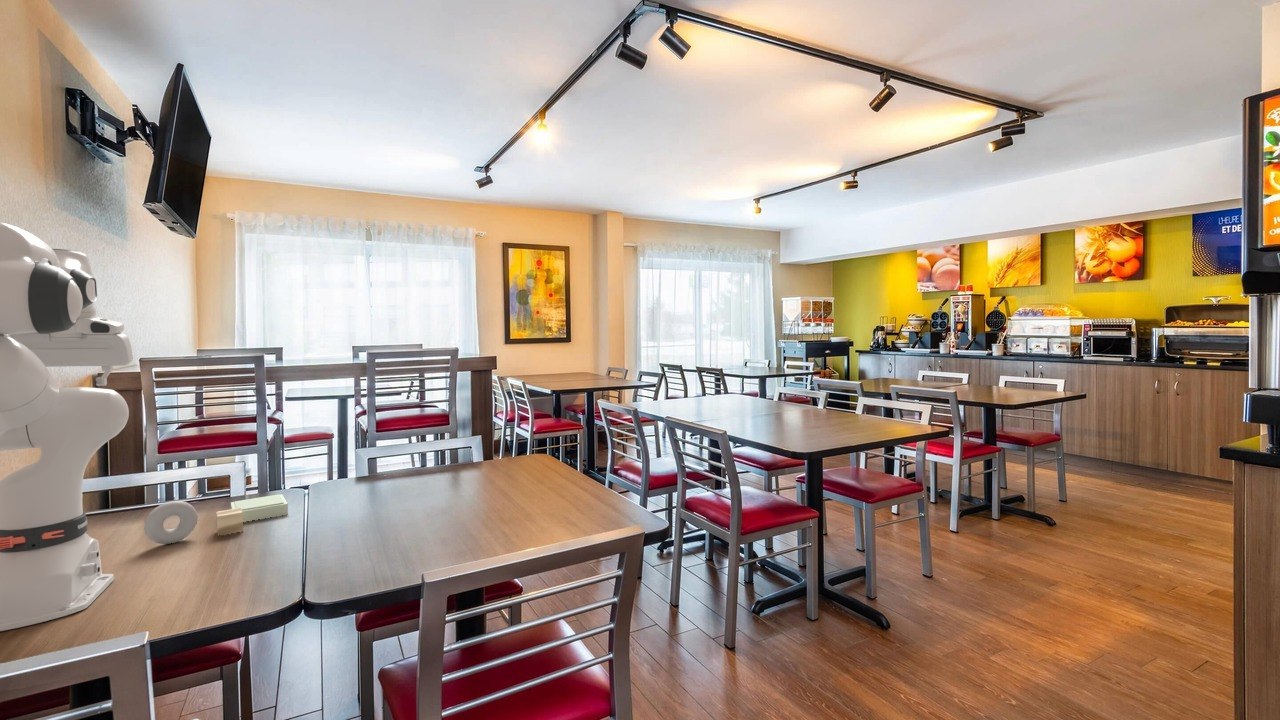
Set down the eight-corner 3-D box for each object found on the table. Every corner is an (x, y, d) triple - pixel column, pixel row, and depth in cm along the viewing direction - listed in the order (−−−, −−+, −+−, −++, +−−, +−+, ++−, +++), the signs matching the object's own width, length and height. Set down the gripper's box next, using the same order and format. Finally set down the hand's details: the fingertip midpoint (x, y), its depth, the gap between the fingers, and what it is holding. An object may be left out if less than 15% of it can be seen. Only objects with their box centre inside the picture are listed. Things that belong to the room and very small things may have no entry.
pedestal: (288, 514, 152) (287, 502, 152) (233, 524, 145) (233, 511, 145) (282, 504, 162) (282, 493, 161) (231, 513, 154) (230, 501, 154)
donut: (148, 551, 127) (145, 508, 126) (142, 548, 129) (140, 505, 128) (201, 538, 135) (199, 497, 135) (195, 535, 137) (193, 495, 136)
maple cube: (243, 532, 139) (242, 512, 139) (218, 536, 136) (217, 516, 136) (241, 526, 143) (240, 507, 143) (217, 531, 140) (216, 511, 140)
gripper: (-7, 324, 115) (-1, 390, 117) (125, 326, 126) (128, 386, 127) (7, 322, 121) (13, 385, 122) (132, 324, 131) (136, 382, 133)
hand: (73, 386), depth 125 cm, fingers open, 8 cm apart
